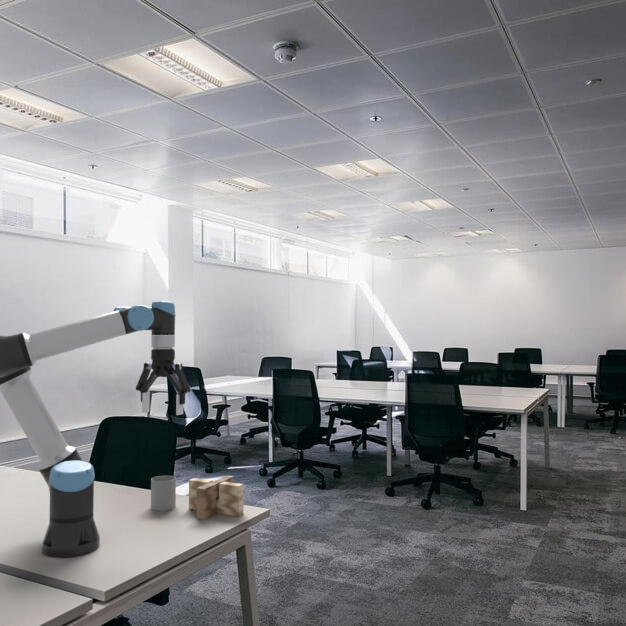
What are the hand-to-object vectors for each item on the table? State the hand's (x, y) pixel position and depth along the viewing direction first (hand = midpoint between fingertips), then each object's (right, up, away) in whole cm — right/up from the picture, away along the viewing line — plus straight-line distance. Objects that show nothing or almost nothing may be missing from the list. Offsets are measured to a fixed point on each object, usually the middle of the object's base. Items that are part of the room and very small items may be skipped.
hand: (162, 413), depth 193 cm
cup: (-3, -35, +14) cm, 38 cm away
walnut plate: (+16, -35, +9) cm, 39 cm away
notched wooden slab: (+16, -35, +9) cm, 39 cm away
